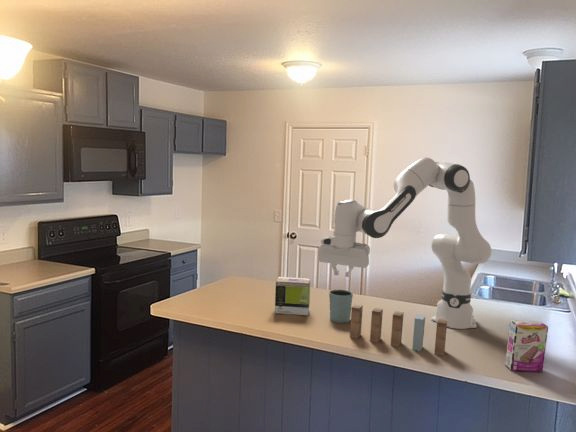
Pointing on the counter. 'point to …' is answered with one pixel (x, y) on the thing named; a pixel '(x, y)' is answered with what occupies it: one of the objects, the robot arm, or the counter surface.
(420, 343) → the light blue domino
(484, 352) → the counter surface
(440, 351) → the brown wooden block
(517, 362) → the candy bar box
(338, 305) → the teal cup
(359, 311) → the domino
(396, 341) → the domino
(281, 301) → the tea box
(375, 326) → the domino
